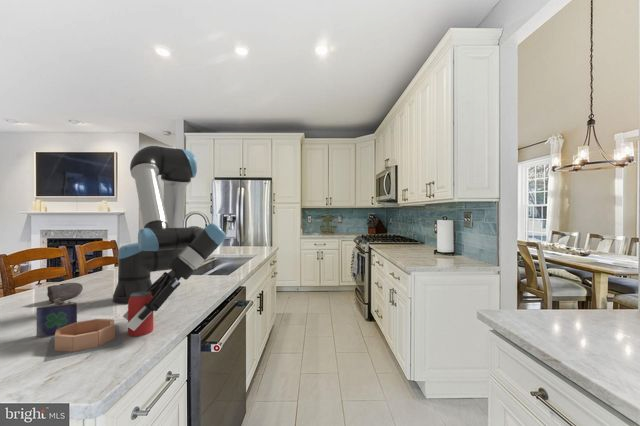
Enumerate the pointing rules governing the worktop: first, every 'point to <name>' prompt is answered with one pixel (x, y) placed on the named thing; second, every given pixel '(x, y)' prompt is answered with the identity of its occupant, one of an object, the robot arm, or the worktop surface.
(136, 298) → the beer can
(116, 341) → the mat
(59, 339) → the dish
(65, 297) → the perforated stone tool
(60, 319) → the flask
